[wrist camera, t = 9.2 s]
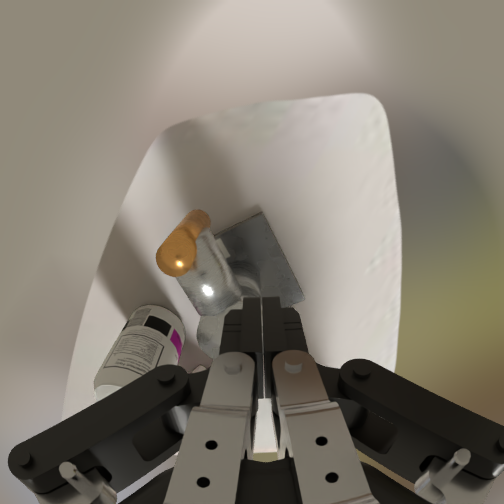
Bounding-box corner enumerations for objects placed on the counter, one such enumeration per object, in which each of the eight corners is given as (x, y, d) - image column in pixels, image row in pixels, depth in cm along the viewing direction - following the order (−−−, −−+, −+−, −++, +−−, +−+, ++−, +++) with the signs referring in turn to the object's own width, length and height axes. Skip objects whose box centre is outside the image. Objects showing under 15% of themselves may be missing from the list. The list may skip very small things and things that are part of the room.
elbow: (276, 307, 32) (283, 366, 23) (225, 327, 33) (216, 386, 24) (220, 196, 28) (204, 224, 19) (164, 224, 29) (129, 261, 20)
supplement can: (198, 333, 39) (177, 419, 25) (159, 356, 41) (131, 434, 27) (158, 291, 37) (115, 370, 23) (121, 319, 39) (76, 392, 25)
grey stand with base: (303, 295, 37) (313, 330, 30) (221, 329, 39) (215, 367, 32) (262, 211, 33) (264, 232, 26) (172, 256, 35) (154, 285, 28)
